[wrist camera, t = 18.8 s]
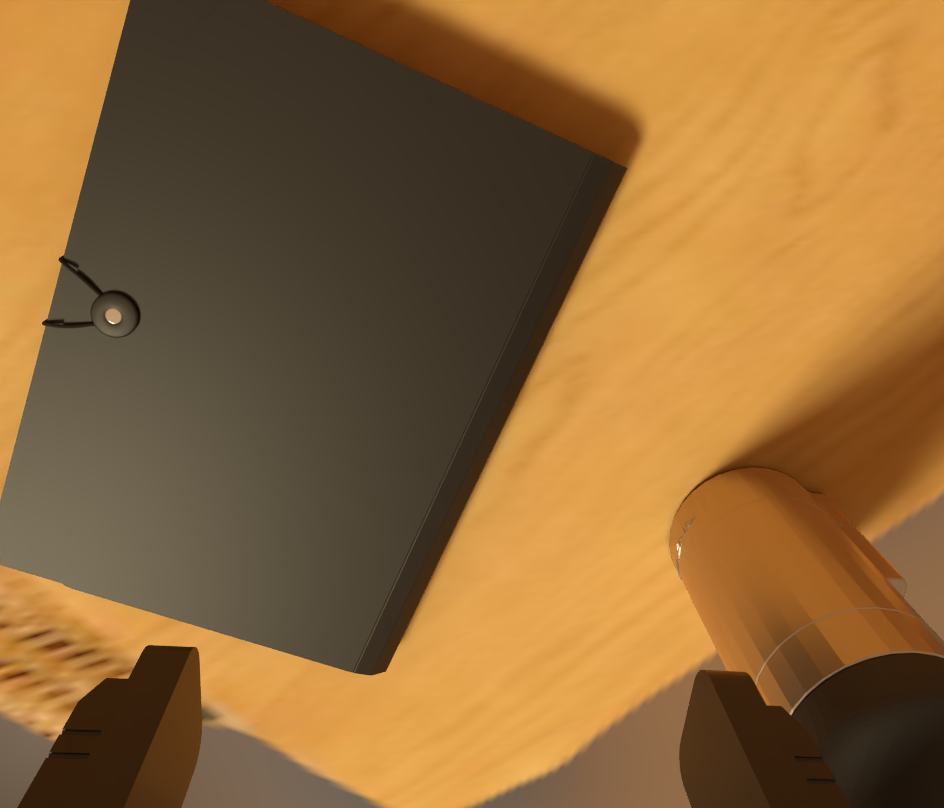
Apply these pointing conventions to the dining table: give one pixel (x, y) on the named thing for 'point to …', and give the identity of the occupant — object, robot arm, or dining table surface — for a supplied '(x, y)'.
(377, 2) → the dining table surface
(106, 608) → the dining table surface
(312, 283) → the file folder
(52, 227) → the dining table surface
